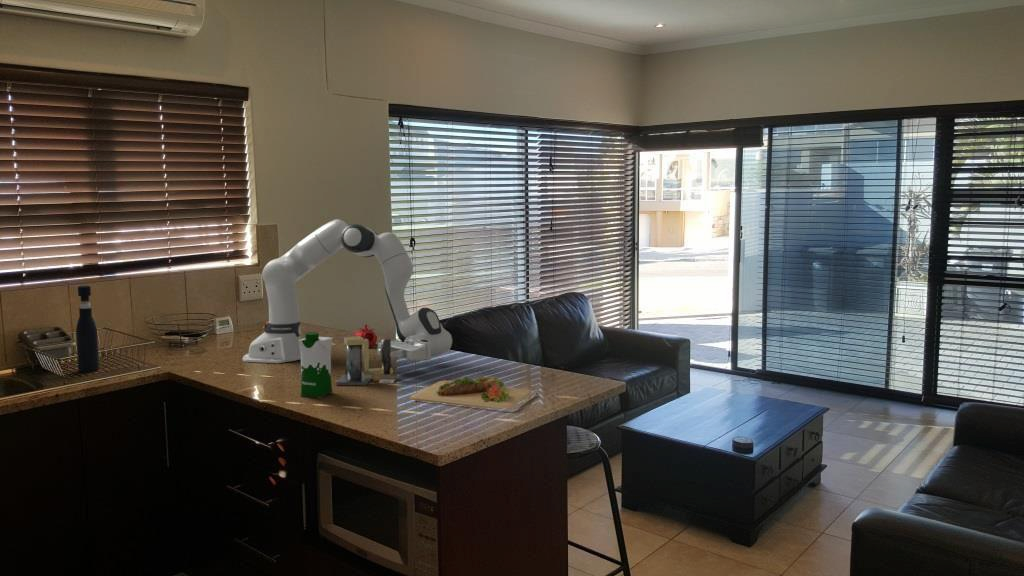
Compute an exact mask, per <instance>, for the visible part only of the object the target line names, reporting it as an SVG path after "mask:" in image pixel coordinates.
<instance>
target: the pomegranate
mask: <svg viewBox="0 0 1024 576" xmlns="http://www.w3.org/2000/svg"><path fill="white" fill-rule="evenodd" d="M369 328H370V327H368V324H364V328H362V327H358V328H357V329H356V330H357V331H355V332H354V334H353V337H356V336H361V337H362V338H363V339H368V340H369V348H372V347H375V346H376V344H377V342H378V336H377V335H376V333H375V332H374V331H375V329H374V328H370V329H369Z"/></svg>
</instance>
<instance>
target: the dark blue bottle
mask: <svg viewBox="0 0 1024 576" xmlns="http://www.w3.org/2000/svg"><path fill="white" fill-rule="evenodd" d="M91 290H92V289H91V286H90V285H79V286H78V287H77V296H78V297H80V303H79V309H78V311H79V318H78V320H77V324H76V329H75V333H76V335H75V336H76V350H77V351H76V352H77V353H76V354H77V355H76V356H77V368H78V370H77V371H78V372H79V373H94V372H97V371H100V359H99V357H100V356H99V343H98V340H99V339H98V338H99V337H98V328H97V325H96V322H95V319H94V317H93V311H92V307H91V302H90V296H92V292H91Z"/></svg>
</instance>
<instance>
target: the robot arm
mask: <svg viewBox="0 0 1024 576" xmlns="http://www.w3.org/2000/svg"><path fill="white" fill-rule="evenodd" d="M343 248H344V249H345V250H346V251H348V252H349V253H352V254H353V255H355V256H359V257H363V258H372V257H375V258H376V259H377V262H378V263H379V266H380V267H381V270H382V273H383V277H384V284H385V286H384V290H385V294H386V297H387V298H386V299H387V301H388V305H389V307H390V310H391V314H392V317H393V319H394V323H395V331H396V335H397V337H398V339H399V340H400V341H399V340H391V352H389V353H388V354H389V355H388V356H389V357H391V358H401V359H406V360H410V361H430V360H431V359H432V357H437V356H442V355H443V354H446V353H447V352H449V351H450V349H451V348H452V345H453V337H452V334H451V333H450V332H449V331H448V330H446V329H445V328H444V327H443V325H442V324H441V322H440V317H439V315H438V313H436V311H434V309H431V308H429V307H421V308H420V309H418V310H417V311H415V312H414V313H412V314H411V315H410V311H409V309H408V306H407V303H406V300H405V291H406V288H407V285H408V283H409V281H410V279H411V277H412V275H413V272H414V267H413V262H412V261H411V258H410V256H409V254H408V252H407V250H406V247H404V245H403V243H402V241H401V240H400V239H399V238H398V236H397V235H396V234H395V233H393V232H389V231H388V232H386V231H385V232H383V233H380V234H378V233H377V232H375V231H374V230H373V229H371V228H369V227H367V226H364V225H362V224H357V223H355V224H349V225H348V224H347V223H346V222H345V221H344V220H341V219H340V218H339V219H338V218H337V219H332V220H330V221H329V222H327V223H325V224H323V225H321V226H320V227H318V228H317V229H315V230H314V231H313V232H311V233H309V234H308V235H307V236H306V237H304V238H303V239H301V240H300V241H299V242H297V243H296V244H295V245H294V246H293V247H292V248H291V249H290V250H288V251H287V252H286V253H285V254H283V255H282V256H279V257H278V258H274V259H272V260H270V261H269V262H268V261H267V263H266V265H265V266H264V268H263V270H262V273H261V276H262V280H263V282H264V286H265V290H266V296H267V301H268V302H267V303H268V320H269V321H266V322H265V324H264V325H263V328H262V329H263V330H264V332H262V334H260V335H259V336H257V337H256V338H255V339H254V340H253V341H251V343H250V344H249V348H248V353H246V354H245V355H243V357H242V362H249V363H250V362H251V363H264V364H265V363H266V364H267V363H268V364H284V363H287V362H294V361H298V360H301V352H300V346H299V340H301V334H302V330H301V329H302V327H301V321H300V308H299V307H300V305H299V304H300V303H299V302H300V301H299V299H298V296H297V290H296V282H298V281H299V280H301V279H302V278H303V277H305V276H306V275H307V274H308V273H309V272H311V271H312V270H314V269H315V268H316V267H317V266H319V265H320V264H322V263H323V262H324V261H326V260H327V259H328V258H330V257H331V256H333V255H335V253H337V252H338V251H340V250H341V249H343ZM376 351H377V353H376V354H377V355H379V356H381V341H380V342H378V343H377V350H376Z"/></svg>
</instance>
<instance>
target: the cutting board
mask: <svg viewBox="0 0 1024 576" xmlns="http://www.w3.org/2000/svg"><path fill="white" fill-rule="evenodd" d="M531 390H532V389H529V388H520V387H509V386H505V382H504V381H501V380H499V377H496V376H490V377H485V376H479V377H478V378H475V379H469V378H468V376H466V375H463V376H461V378H459V379H455V380H445V379H444V380H438V381H436V382H435V383H433V384H430V385H429V386H427V387H426V388H423V389H421V390H420V391H418V392H416V393H413V394H411V395H410V397H409V399H412V400H415V401H427V402H428V401H429V402H440V403H446V404H455V405H465V406H475V407H489V408H505V409H507V408H513V407H514V406H516V405H517V404H518V402H520V400H522V398H524V397H525V396H526V395H527V394H528V393H529V392H530V391H531ZM412 400H411V401H412ZM415 401H414V402H415Z"/></svg>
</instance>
